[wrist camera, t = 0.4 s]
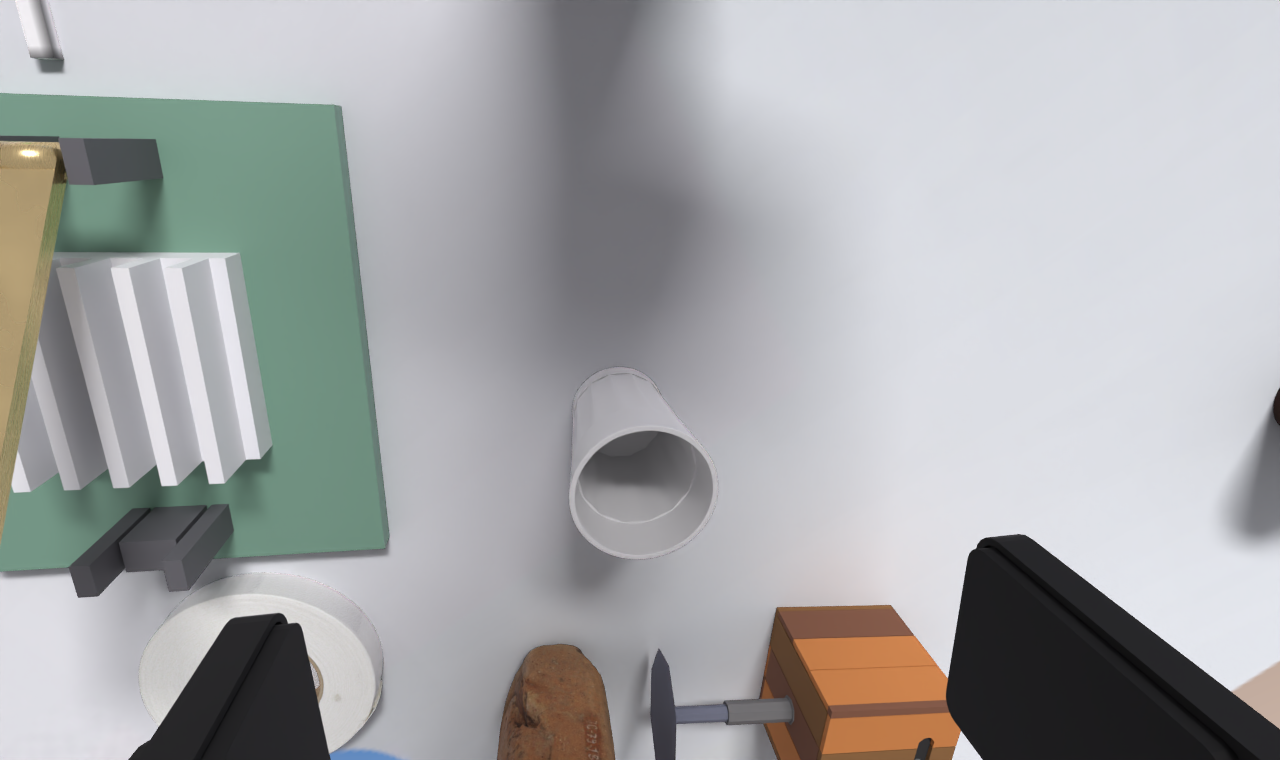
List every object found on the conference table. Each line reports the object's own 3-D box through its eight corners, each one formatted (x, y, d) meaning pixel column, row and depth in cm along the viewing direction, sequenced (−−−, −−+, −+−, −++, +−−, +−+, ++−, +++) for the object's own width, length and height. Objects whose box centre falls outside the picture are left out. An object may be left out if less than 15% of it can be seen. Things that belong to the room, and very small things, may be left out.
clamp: (656, 608, 53) (699, 766, 39) (890, 604, 56) (1002, 748, 43) (643, 714, 56) (678, 893, 43) (864, 704, 60) (960, 866, 46)
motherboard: (-156, 88, 34) (-339, 74, 27) (341, 106, 38) (296, 97, 31) (2, 558, 43) (-103, 640, 36) (389, 536, 47) (363, 607, 40)
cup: (584, 478, 48) (601, 580, 37) (541, 381, 45) (545, 460, 34) (688, 437, 48) (736, 527, 37) (652, 337, 45) (692, 402, 34)
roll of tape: (164, 739, 50) (144, 772, 48) (152, 564, 46) (128, 590, 43) (381, 739, 53) (373, 770, 51) (390, 574, 48) (382, 600, 46)
